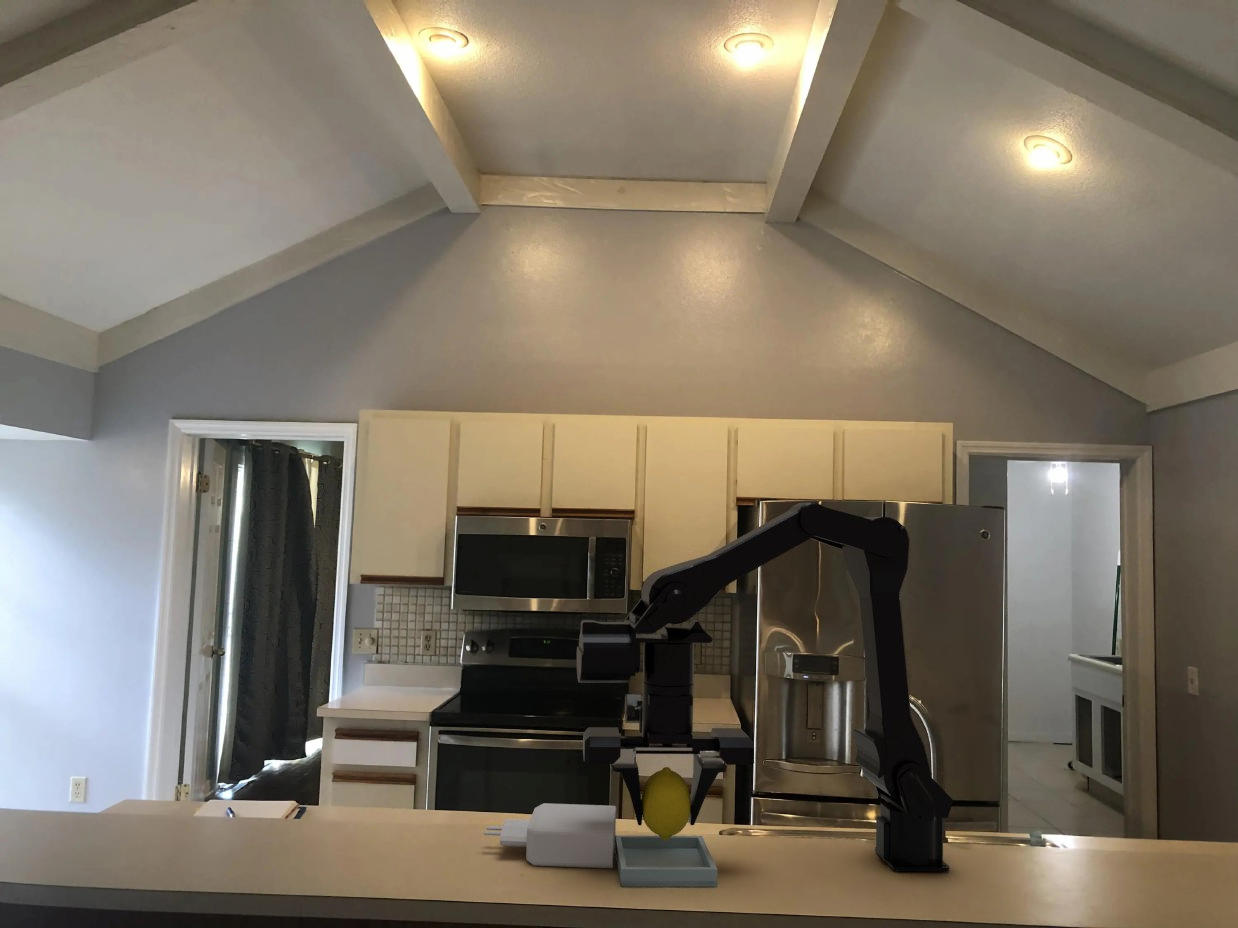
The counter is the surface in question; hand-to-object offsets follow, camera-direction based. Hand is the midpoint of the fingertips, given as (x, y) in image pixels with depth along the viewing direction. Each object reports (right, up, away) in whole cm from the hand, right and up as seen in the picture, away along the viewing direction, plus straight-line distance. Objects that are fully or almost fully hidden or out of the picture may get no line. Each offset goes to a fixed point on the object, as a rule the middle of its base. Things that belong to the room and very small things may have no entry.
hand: (665, 823), depth 100 cm
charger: (-13, -5, +3) cm, 15 cm away
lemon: (0, -2, 0) cm, 2 cm away
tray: (0, -5, 0) cm, 5 cm away
